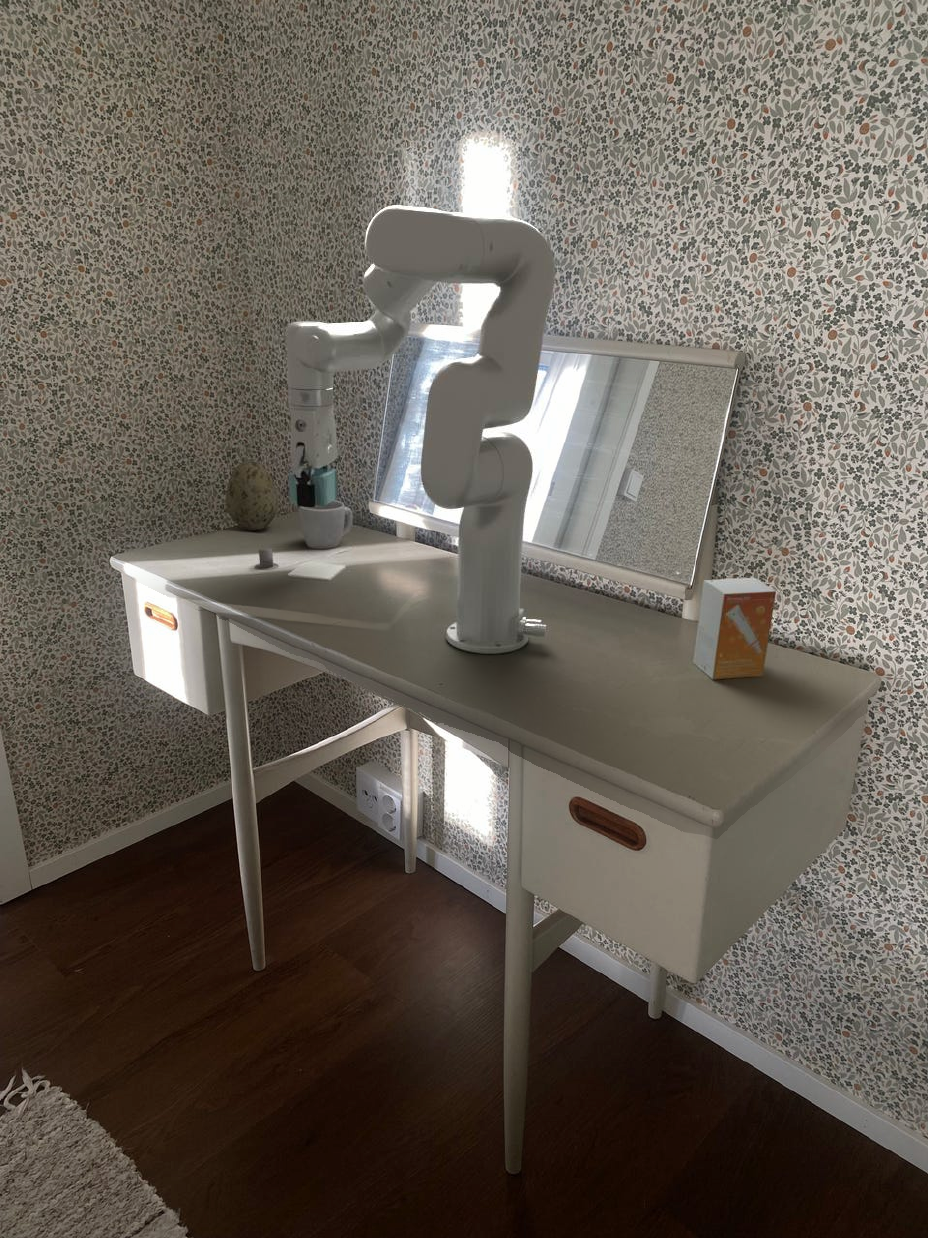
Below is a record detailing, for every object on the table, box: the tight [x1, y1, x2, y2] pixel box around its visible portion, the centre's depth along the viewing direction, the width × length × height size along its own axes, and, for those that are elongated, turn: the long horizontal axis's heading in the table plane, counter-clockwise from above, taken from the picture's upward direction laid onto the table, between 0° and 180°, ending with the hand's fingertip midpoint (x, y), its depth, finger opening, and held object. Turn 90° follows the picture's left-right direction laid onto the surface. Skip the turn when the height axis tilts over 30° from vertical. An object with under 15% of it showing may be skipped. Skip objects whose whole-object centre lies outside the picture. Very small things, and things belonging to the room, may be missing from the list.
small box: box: [693, 577, 777, 681], centre depth 132 cm, size 8×6×13 cm
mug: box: [298, 499, 354, 550], centre depth 184 cm, size 12×9×10 cm
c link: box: [288, 468, 339, 506], centre depth 163 cm, size 6×6×5 cm
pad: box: [287, 561, 347, 582], centre depth 168 cm, size 8×8×1 cm
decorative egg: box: [225, 459, 279, 532], centre depth 196 cm, size 11×11×15 cm
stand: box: [254, 547, 280, 571], centre depth 169 cm, size 20×12×5 cm, turn 76°
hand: (314, 500), depth 164 cm, fingers closed on c link, 6 cm apart
